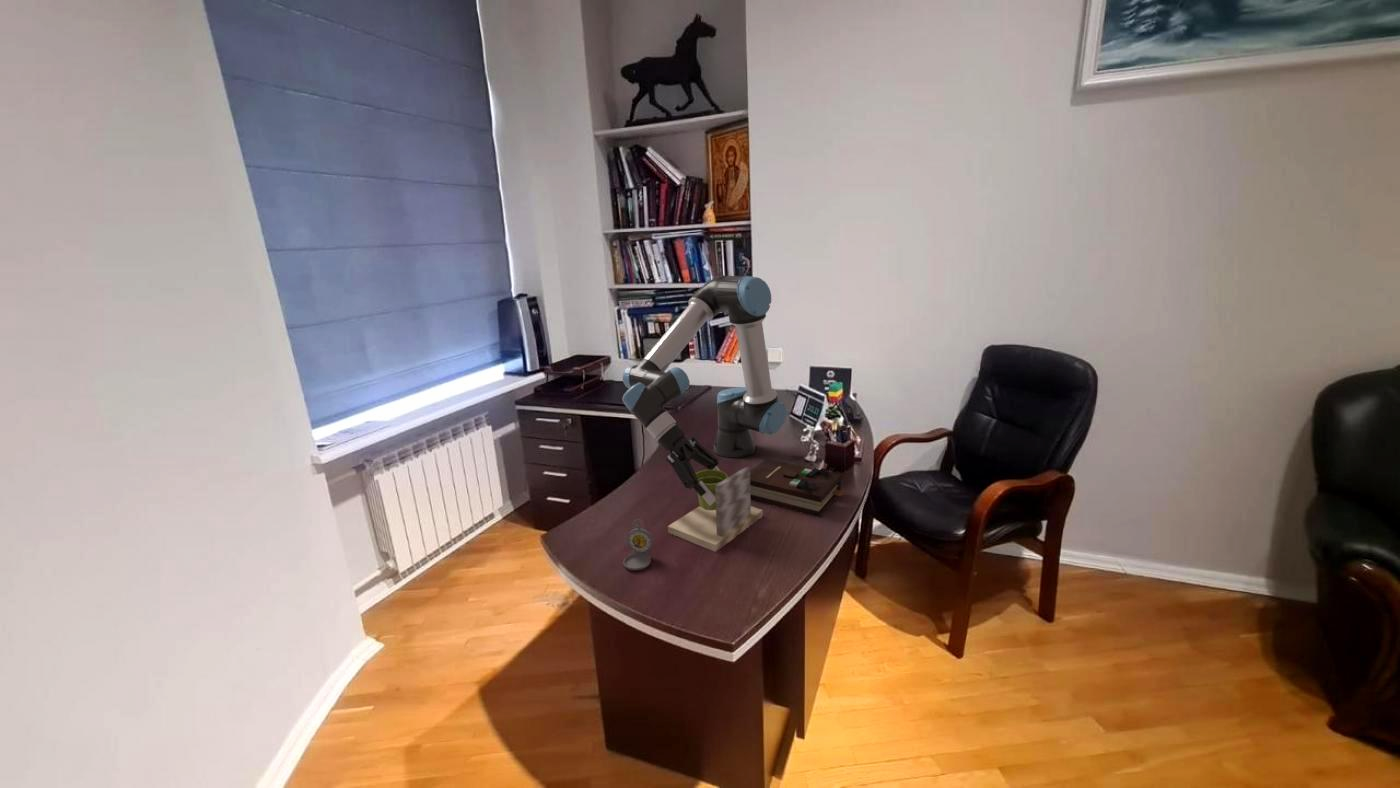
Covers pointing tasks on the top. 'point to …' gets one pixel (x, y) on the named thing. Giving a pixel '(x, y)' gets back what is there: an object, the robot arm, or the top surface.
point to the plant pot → (710, 484)
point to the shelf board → (720, 515)
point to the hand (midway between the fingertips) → (721, 494)
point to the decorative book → (794, 486)
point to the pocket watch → (638, 548)
